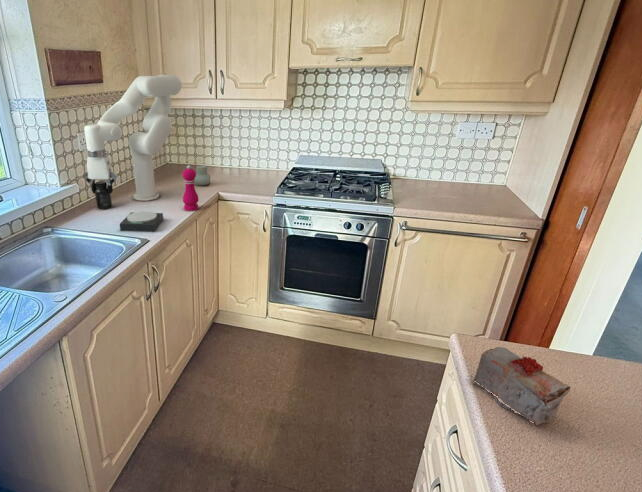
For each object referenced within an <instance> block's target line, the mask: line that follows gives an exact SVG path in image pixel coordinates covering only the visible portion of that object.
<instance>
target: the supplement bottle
mask: <svg viewBox="0 0 642 492" xmlns="http://www.w3.org/2000/svg"><path fill="white" fill-rule="evenodd" d="M95 184H96V189H95V193H94V196H95V201H96V202H95V203H96V207H97V209H98V210H109V209H111V208H112V207H113V202H112V195H111V194H112V193H111V194H108V187H107V186H108V183H107V182H106V180H99V181H97V182H96V181H95Z"/></svg>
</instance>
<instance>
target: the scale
mask: <svg viewBox="0 0 642 492" xmlns="http://www.w3.org/2000/svg"><path fill="white" fill-rule="evenodd" d="M163 221H164V213H163V212H153V211H145V210H143V211H136V212H134V211H133V212H132V211H131V212H130V213H129V214H127V216H125V218H124V219H122V220H121V222H120V223H119V229H120V231H121V232H144V233H145V232H146V233H147V232H149V233H155V231H156V230H157V229H158V227H160V225H161V223H162V222H163Z"/></svg>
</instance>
